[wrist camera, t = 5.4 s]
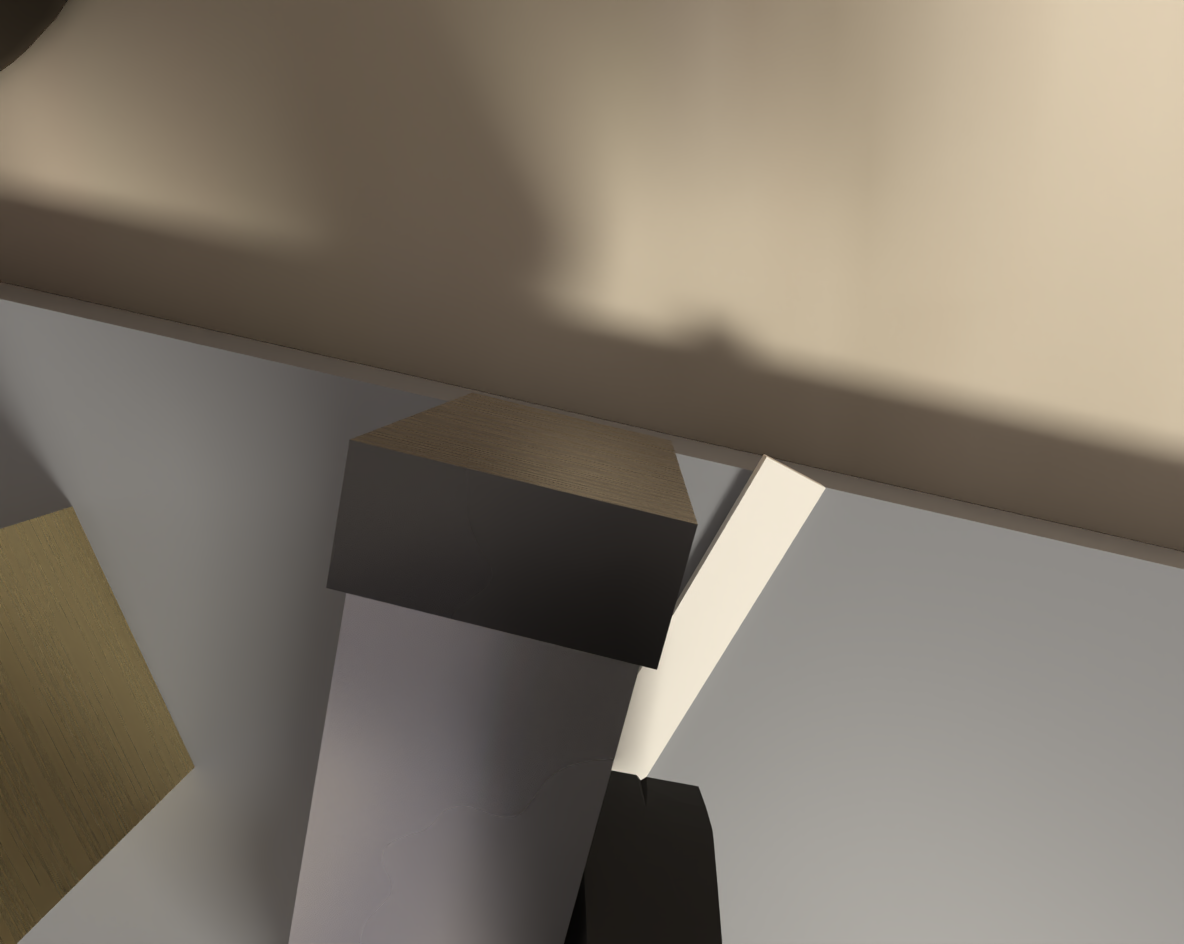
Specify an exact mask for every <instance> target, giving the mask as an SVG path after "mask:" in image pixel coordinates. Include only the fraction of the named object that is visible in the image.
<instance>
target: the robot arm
mask: <svg viewBox="0 0 1184 944" xmlns="http://www.w3.org/2000/svg"><path fill="white" fill-rule="evenodd" d="M564 944H722V934H721V921H720V908H719V896H718V883H717V872H716V860H715V849H714V838H713V830H712V826H711V823H710V819H709V816H708V812H707V809H706V806H705V803H704V800H703V797H702V795H701V792H700V789H699V786H694V785H689V784H683V783H678V782H672V781H667V780H661V779H656V778H650V777H645V778H643V779H642V780H640V779H639V777H638V776H637V775H634V774H629V773H623V772H618V771H612V770H611V773H610V777H609V780H608V784H607V788H606V791H605V795H604V799H603V802H602V806H601V810H600V813H599V817H598V821H597V824H596V828H595V832H594V835H593V839H592V843H591V846H590V850H589V854H588V857H587V861H586V865H585V868H584V872H583V875H582V879H581V883H580V886H579V890H578V894H577V897H576V901H575V905H574V908H573V912H572V916H571V919H570V923H569V927H568V930H567V934H566V938H565V941H564Z"/></svg>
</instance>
